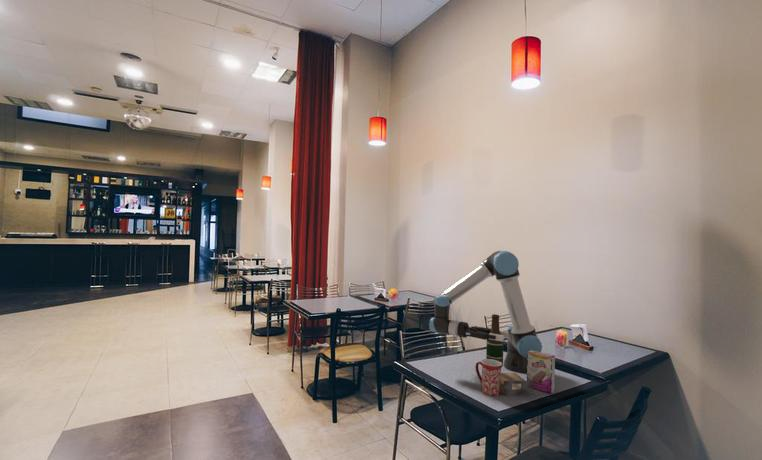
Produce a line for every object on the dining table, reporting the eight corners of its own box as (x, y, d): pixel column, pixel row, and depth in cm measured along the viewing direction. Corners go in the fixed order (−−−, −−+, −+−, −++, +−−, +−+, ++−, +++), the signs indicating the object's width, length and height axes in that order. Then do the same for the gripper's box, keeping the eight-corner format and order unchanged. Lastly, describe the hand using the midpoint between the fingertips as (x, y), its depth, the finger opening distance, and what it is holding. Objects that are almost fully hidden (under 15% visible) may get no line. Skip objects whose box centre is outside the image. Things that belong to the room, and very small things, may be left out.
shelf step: (514, 381, 171) (515, 368, 172) (532, 395, 156) (532, 381, 156) (489, 381, 170) (489, 368, 170) (504, 395, 154) (504, 381, 154)
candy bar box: (526, 387, 165) (526, 351, 165) (529, 384, 168) (530, 349, 169) (551, 394, 157) (552, 357, 158) (554, 391, 161) (555, 354, 162)
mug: (505, 394, 156) (506, 363, 156) (492, 398, 150) (493, 366, 151) (482, 384, 166) (483, 355, 167) (469, 388, 161) (470, 358, 161)
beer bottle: (506, 366, 167) (507, 315, 168) (496, 369, 162) (497, 317, 163) (492, 361, 173) (493, 312, 174) (482, 364, 168) (483, 314, 169)
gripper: (466, 332, 186) (511, 340, 173) (451, 340, 169) (499, 349, 157) (466, 318, 186) (511, 325, 174) (451, 324, 170) (499, 332, 157)
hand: (505, 336), depth 165 cm, fingers closed on beer bottle, 7 cm apart
